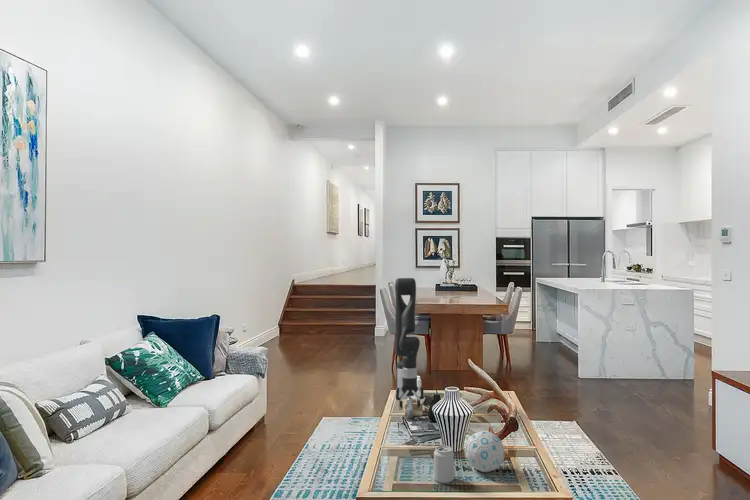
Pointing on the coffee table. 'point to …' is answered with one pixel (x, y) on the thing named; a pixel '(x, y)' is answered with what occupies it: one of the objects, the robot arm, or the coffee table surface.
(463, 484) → the coffee table surface
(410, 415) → the long pin
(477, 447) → the puzzle ball
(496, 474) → the coffee table surface
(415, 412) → the hole block
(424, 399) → the figurine
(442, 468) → the can
